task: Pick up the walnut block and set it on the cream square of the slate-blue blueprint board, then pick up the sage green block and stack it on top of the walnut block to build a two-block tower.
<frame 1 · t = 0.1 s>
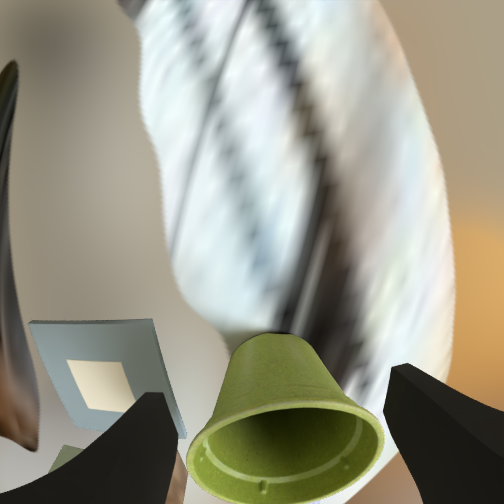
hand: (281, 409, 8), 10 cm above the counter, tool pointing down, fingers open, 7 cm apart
walnut block: (163, 460, 22), on the counter
blueprint board: (105, 382, 20), on the counter
plant pot: (273, 367, 20), on the counter
sage block: (85, 459, 23), on the counter
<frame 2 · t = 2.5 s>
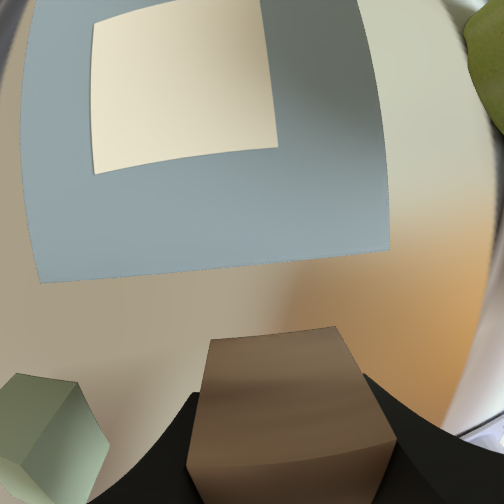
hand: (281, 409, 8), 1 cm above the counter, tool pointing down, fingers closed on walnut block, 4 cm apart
walnut block: (277, 382, 10), on the counter, touching gripper
blueprint board: (178, 77, 7), on the counter
sage block: (61, 411, 10), on the counter
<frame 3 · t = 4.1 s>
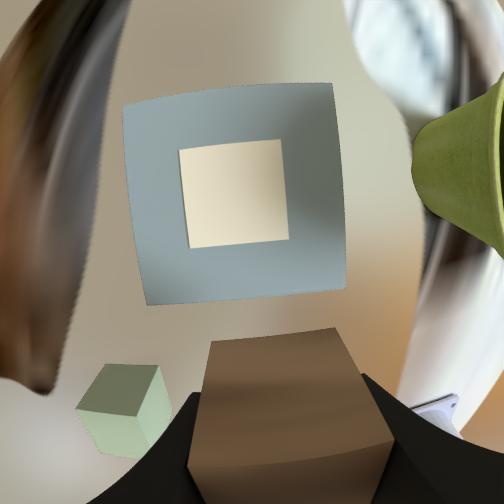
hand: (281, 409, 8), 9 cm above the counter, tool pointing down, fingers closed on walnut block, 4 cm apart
walnut block: (277, 383, 10), point 7 cm above the counter, touching gripper
blueprint board: (234, 193, 15), on the counter
plant pot: (446, 169, 15), on the counter
sage block: (139, 387, 18), on the counter
when the fingers open (3 cm above the counter, at t = 5.9 s): walnut block stays where it is, resting on blueprint board.
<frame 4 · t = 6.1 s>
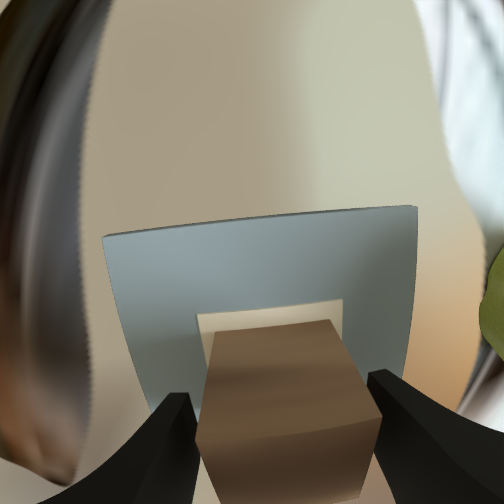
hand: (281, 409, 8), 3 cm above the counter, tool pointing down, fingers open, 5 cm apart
walnut block: (276, 372, 11), point 1 cm above the counter, touching blueprint board
blueprint board: (273, 358, 11), on the counter
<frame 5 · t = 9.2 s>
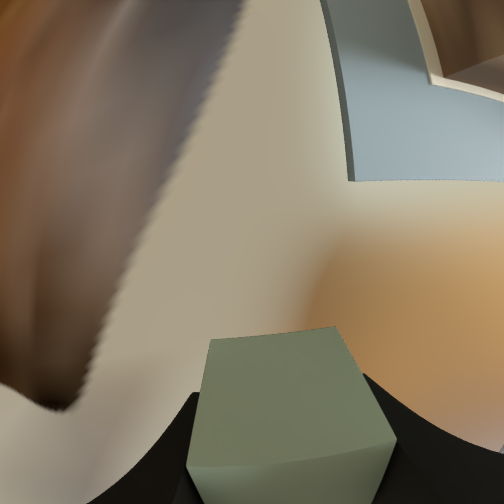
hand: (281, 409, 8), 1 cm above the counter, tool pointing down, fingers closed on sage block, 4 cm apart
walnut block: (470, 38, 6), point 1 cm above the counter, touching blueprint board
blueprint board: (458, 39, 7), on the counter
sage block: (277, 382, 10), on the counter, touching gripper
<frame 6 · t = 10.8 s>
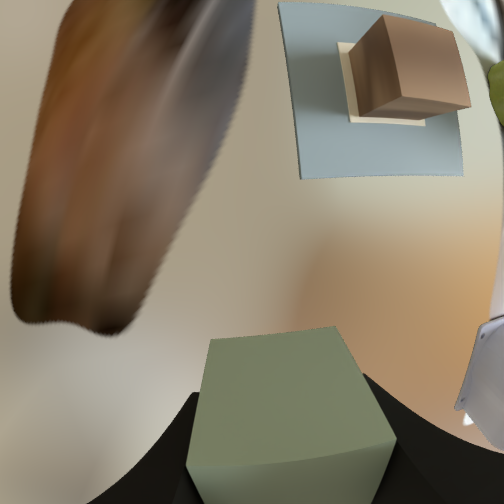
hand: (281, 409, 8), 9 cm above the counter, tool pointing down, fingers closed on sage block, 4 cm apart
walnut block: (385, 85, 14), point 1 cm above the counter, touching blueprint board
blueprint board: (379, 85, 15), on the counter
sage block: (277, 382, 10), point 8 cm above the counter, touching gripper
when the fingers open (8 cm above the counter, at t = 12.5 s): sage block stays where it is, resting on walnut block.
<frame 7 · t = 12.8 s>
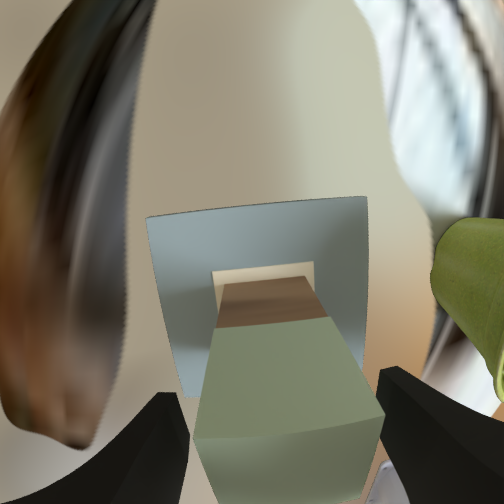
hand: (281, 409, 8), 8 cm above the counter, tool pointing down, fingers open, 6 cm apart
walnut block: (268, 316, 15), point 1 cm above the counter, touching blueprint board, sage block
blueprint board: (266, 307, 16), on the counter
plant pot: (462, 264, 16), on the counter
sage block: (276, 370, 10), point 6 cm above the counter, touching walnut block
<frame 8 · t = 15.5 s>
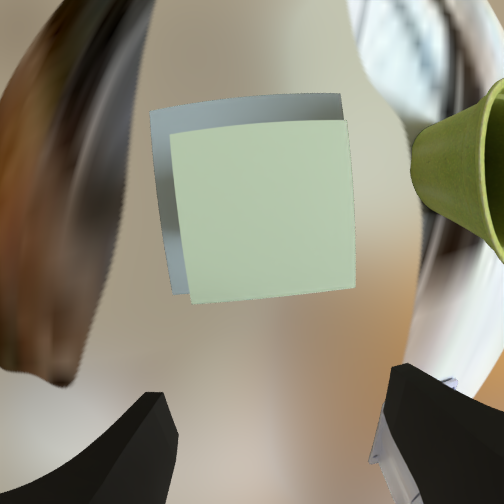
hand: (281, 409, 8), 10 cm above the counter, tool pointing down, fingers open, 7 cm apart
blueprint board: (254, 191, 17), on the counter
plant pot: (442, 169, 17), on the counter
sage block: (258, 198, 11), point 6 cm above the counter, touching walnut block
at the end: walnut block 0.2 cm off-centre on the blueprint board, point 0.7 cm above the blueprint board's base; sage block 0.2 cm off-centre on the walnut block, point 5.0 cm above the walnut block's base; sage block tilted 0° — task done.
